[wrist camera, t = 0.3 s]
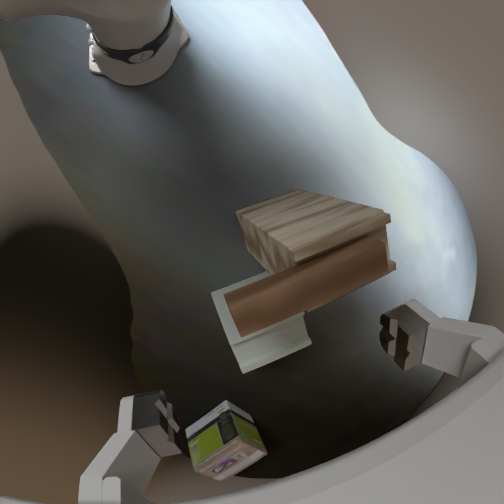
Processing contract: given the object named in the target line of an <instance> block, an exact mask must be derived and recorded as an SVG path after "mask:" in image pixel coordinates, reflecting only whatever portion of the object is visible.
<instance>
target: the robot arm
mask: <svg viewBox="0 0 504 504" xmlns="http://www.w3.org/2000/svg"><path fill="white" fill-rule="evenodd" d="M38 15H62V16H69V17H74V18H77V19H81V20H84V21H86V22H87V32H88V33H90V39H89V69H90V71H91V72H92V73H95V74H101V75H105V76H107V77H109V78H110V79H111V80H113V81H115V82H117V83H119V84H123V85H130V86H134V85H142V84H146V83H149V82H151V81H153V80H155V79H157V78H159V77H160V76H162V75H163V74H164V73H165V72H166V71H167V70H168V69H169V68H170V67H171V65H172V64H173V62H174V60H175V58H176V56H177V53H178V51H179V49H180V48H181V47H182V46H184V45H185V44H186V42H187V41H188V39H189V35H188V33H187V31H186V29H185V28H184V26H183V25H182V23H181V21H180V20H179V18H178V16H177V15H176V13H175V12H174V10H173V8H172V6H171V0H0V17H1V18H3V19H7V20H11V21H14V20H18V19H22V18H27V17H32V16H38ZM181 32H182V33H181ZM94 60H95V62H94ZM380 324H381V325H382V326H383V327H382V329H381V331H380V342H381V345H382V347H383V349H384V351H385V352H386V353H387V354H389V355H392V356H394V362H395V363H396V364H397V365H398V366H399V367H400V368H401V369H402V370H403V371H406V370H408V369H410V368H412V367H414V366H415V365H417V364H419V363H421V362H422V364H425V365H427V366H430V367H433V368H435V369H438V370H441V371H443V372H446V373H449V374H452V375H455V376H457V377H460V381H459V383H458V386H457V389H456V390H455V391H454V392H452V393H451V394H450V395H448V396H447V397H445V398H444V399H442V400H441V401H440V402H438V403H437V404H435V405H434V406H432V407H431V408H429V409H427V410H426V411H424V412H423V413H422V414H420V415H418V416H416V417H415V418H413V419H411V420H410V421H408V422H406V423H405V424H403V425H401V426H399V427H398V428H396V429H394V430H392V431H391V432H389V433H387V434H385V435H383V436H381V437H379V438H377V439H376V440H374V441H372V442H370V443H368V444H366V445H364V446H361V447H359V448H357V449H355V450H353V451H351V452H349V453H346V454H344V455H342V456H340V457H337V458H335V459H333V460H330V461H328V462H326V463H323V464H321V465H318V466H315V467H313V468H310V469H308V470H305V471H302V472H299V473H296V474H294V475H291V476H288V477H285V478H282V479H278V480H275V481H272V482H269V483H265V484H262V485H258V486H255V487H251V488H247V489H243V490H239V491H235V492H231V493H226V494H222V495H217V496H212V497H206V498H201V499H195V500H188V501H181V502H174V503H165V504H504V334H503V333H502V332H500V331H499V330H498V329H497V328H495V327H494V326H489V325H483V324H478V323H472V322H467V321H461V320H456V319H450V318H445V317H443V318H441V319H440V318H439V317H438V316H437V315H435V314H434V313H433V312H431V311H430V310H429V309H427V308H426V307H425V306H424V305H422V304H421V303H420V302H418V301H417V300H415V299H412V300H410V301H408V302H406V303H404V304H403V305H400V306H398V307H396V308H394V309H392V310H390V311H388V312H386V313H384V314H382V315H381V317H380ZM179 429H180V426H179V420H178V416H177V413H176V411H175V409H174V407H173V406H172V404H169V403H167V396H166V395H165V394H164V392H163V391H161V390H159V391H154V392H149V393H144V394H139V395H135V396H129V397H123V398H122V400H121V402H120V411H119V421H118V431H117V433H114V434H113V435H112V437H111V438H110V439H109V441H108V442H107V443H106V445H105V446H104V447H103V448H102V450H101V451H100V452H99V453H98V455H97V456H96V457H95V459H94V460H93V461H92V463H91V464H90V465H89V466H88V468H87V469H86V471H85V472H84V473H83V474H82V476H81V479H80V487H79V499H78V504H154V503H152V502H151V501H149V500H148V499H146V498H145V497H144V496H143V494H144V491H145V489H146V487H147V485H148V483H149V481H150V479H151V477H152V475H153V473H154V471H155V469H156V467H157V465H158V463H159V461H160V459H161V458H160V457H164V456H169V455H174V454H179V453H182V445H181V438H180V436H179V435H178V434H177V432H178V430H179ZM0 504H51V503H43V502H36V501H29V500H23V499H18V498H13V497H7V496H3V497H0Z"/></svg>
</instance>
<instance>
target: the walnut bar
mask: <svg viewBox="0 0 504 504" xmlns="http://www.w3.org/2000/svg"><path fill="white" fill-rule="evenodd" d="M387 271H388V261H387V252H386V244H385V242H382V241H380V240H377V239H375V238H372V237H370V236H365V237H363V238H360V239H358V240H356V241H353V242H351V243H348V244H346V245H344V246H341V247H339V248H337V249H334V250H332V251H329V252H327V253H325V254H322V255H320V256H317V257H315V258H313V259H310V260H308V261H305V262H303V263H300V264H298V265H296V266H293V267H291V268H288V269H286V270H283V271H281V272H278V273H276V274H273V275H271V276H268V277H266V278H263V279H261V280H258V281H256V282H253V283H251V284H248V285H246V286H243V287H241V288H238V289H235V290H233V291H230V292H228V293H225V294H223V295H224V298H225V300H226V303H227V305H228V308H229V311H230V313H231V316H232V318H233V321H234V323H235V325H236V328H237V330H238V332H239V334H240V336H241V338H242V337H244V336H247V335H249V334H252V333H254V332H257V331H259V330H261V329H264V328H266V327H269V326H271V325H273V324H276V323H278V322H280V321H283V320H285V319H287V318H290V317H292V316H294V315H297V314H299V313H301V312H303V311H306V310H308V309H310V308H312V307H315V306H317V305H319V304H321V303H323V302H325V301H328V300H330V299H332V298H334V297H336V296H338V295H340V294H342V293H345V292H347V291H349V290H351V289H353V288H355V287H357V286H359V285H361V284H363V283H365V282H367V281H369V280H371V279H373V278H375V277H377V276H379V275H381V274H383V273H385V272H387Z"/></svg>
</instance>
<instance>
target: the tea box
mask: <svg viewBox="0 0 504 504" xmlns="http://www.w3.org/2000/svg"><path fill="white" fill-rule="evenodd" d="M186 436H187V440H188V446H189V450H190V455H191V460H192V464H193V468H194V471H195V472H198V473H200V474H203V475H206V476H208V477H211V478H214V479H217V480H219V481H222V482H223V481H224V480H226V479H228V478H230V477H231V476H233V475H235V474H236V473H238V472H240V471H241V470H243V469H245V468H246V467H248V466H250V465H251V464H253V463H254V462H256V461H258V460H259V459H260V458H262V457H263V456H265V455H267V451H266V449H265V447H264V444H263V442H262V440H261V438H260V436H259V433H258V431H257V428H256V426H255V424H254V422H253V419H252V417H251V415H249V414H248V413H246V412H245V411H243V410H241V409H240V408H238V407H237V406H235V405H234V404H232V403H230V402H229V401H227V400H225V401H224V402H223V403H221V404H220V405H219V406H217V407H216V408H215V409H213V410H212V411H211V412H209V413H208V414H206V415H205V416H204V417H202V418H201V419H199V420H198V421H197V422H195V423H194V424H192V425H191V426H189V427H188V428H187V429H186Z"/></svg>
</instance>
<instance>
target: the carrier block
mask: <svg viewBox="0 0 504 504" xmlns="http://www.w3.org/2000/svg"><path fill="white" fill-rule="evenodd" d="M268 276H271V275H270V274H269V273H268V271H265V272H263V273H260V274H258V275H255V276H253V277H250V278H247V279H245V280H242V281H240V282H237V283H235V284H232V285H230V286H227V287H224V288H222V289H219V290H217V291H214V292H211V295H212V298H213V301H214V304H215V306H216V309H217V312H218V314H219V317H220V320H221V322H222V325H223V328H224V330H225V333H226V335H227V338H228V341H229V343H230V345H231V347H232V350H233V352H234V354H235V357H236V359H237V361H238V363H239V366H240V368H241V371H242V373H246V372H249V371H251V370H253V369H256V368H258V367H261V366H263V365H266V364H268V363H270V362H273V361H275V360H277V359H280V358H282V357H284V356H287V355H289V354H291V353H293V352H296V351H298V350H300V349H302V348H304V347H307V346H309V345H311V344H312V342H311V339H310V338H309V337H308V334H307V330H306V326H305V322H304V318H303V315H305V313H304V311H303V312H301V313H299V314H297V315H294V316H292V317H290V318H287V319H285V320H283V321H280V322H278V323H276V324H273V325H271V326H269V327H266V328H264V329H261V330H259V331H257V332H254V333H252V334H249V335H247V336H244V337H242V338H241V336H240V334H239V332H238V330H237V328H236V325H235V323H234V321H233V318H232V316H231V313H230V311H229V308H228V305H227V303H226V300H225V298H224V295H223V294H225V293H228V292H230V291H233V290H235V289H238V288H241V287H243V286H246V285H248V284H251V283H253V282H256V281H258V280H261V279H263V278H266V277H268Z"/></svg>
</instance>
